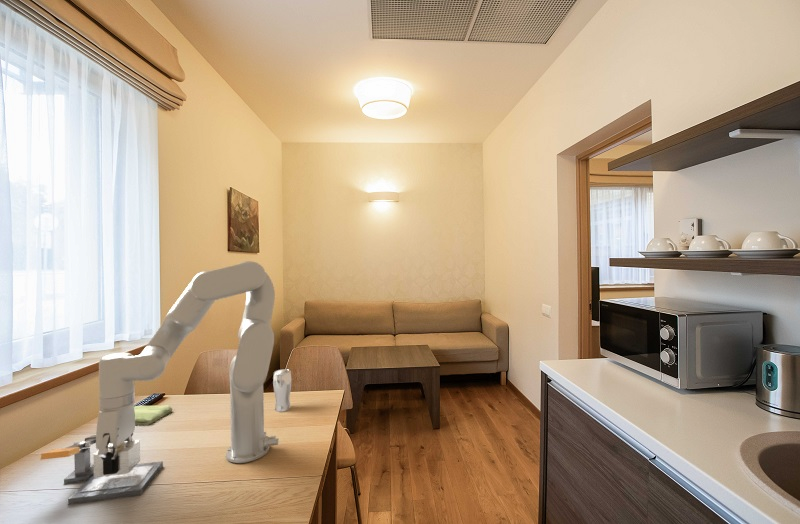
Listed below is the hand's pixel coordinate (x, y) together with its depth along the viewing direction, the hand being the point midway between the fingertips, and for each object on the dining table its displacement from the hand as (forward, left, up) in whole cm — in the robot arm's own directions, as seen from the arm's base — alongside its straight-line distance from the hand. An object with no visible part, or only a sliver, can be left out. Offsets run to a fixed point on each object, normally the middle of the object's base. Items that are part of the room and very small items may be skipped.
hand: (118, 465), depth 96 cm
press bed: (+3, -1, -5) cm, 6 cm away
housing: (0, 0, -1) cm, 1 cm away
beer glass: (-38, -40, -5) cm, 56 cm away
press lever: (+12, -6, +4) cm, 14 cm away
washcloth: (+14, -44, -6) cm, 47 cm away
